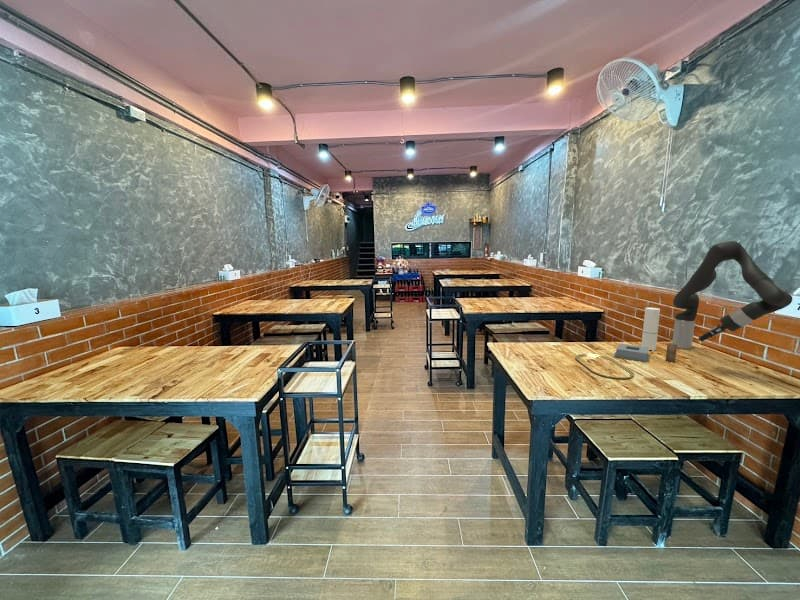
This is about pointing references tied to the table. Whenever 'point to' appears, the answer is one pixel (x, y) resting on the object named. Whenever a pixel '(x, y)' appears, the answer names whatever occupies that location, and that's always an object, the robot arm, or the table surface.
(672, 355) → the walnut peg
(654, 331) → the tall white block
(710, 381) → the table surface
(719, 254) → the robot arm
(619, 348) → the socket block
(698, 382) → the table surface
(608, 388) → the table surface
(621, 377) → the rubber band
